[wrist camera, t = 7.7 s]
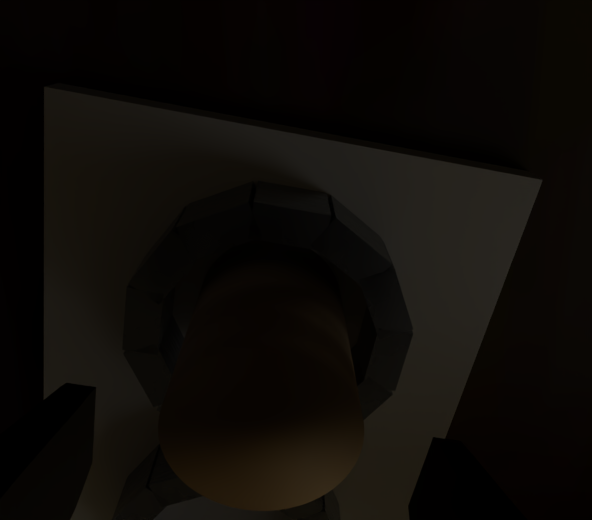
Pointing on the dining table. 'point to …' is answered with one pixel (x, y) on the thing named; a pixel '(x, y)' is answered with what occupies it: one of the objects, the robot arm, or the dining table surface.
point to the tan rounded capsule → (264, 383)
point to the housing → (271, 228)
